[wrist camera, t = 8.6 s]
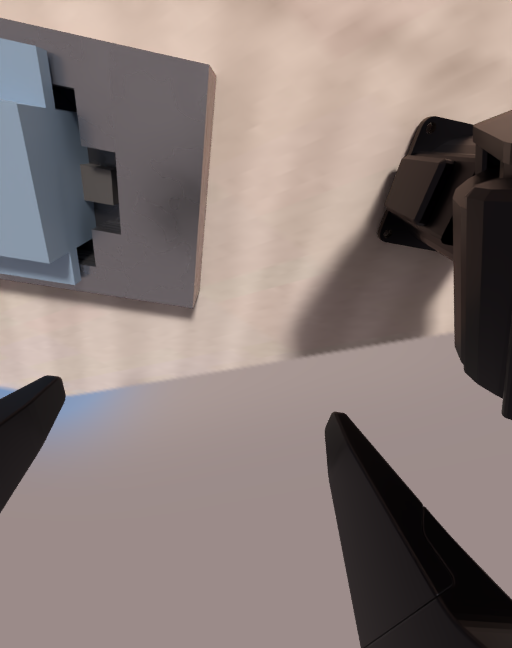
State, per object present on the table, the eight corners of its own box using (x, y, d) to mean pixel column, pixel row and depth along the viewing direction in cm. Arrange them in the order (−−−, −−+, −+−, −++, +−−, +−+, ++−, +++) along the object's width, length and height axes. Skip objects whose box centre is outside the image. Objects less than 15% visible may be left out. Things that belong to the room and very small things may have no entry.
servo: (111, 71, 14) (50, 42, 10) (124, 269, 20) (88, 304, 16) (-19, 42, 14) (-141, -1, 10) (31, 253, 19) (-33, 286, 15)
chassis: (216, 75, 15) (209, 64, 12) (199, 291, 21) (192, 308, 19) (-138, -3, 13) (-213, -30, 11) (-42, 253, 19) (-79, 266, 17)
